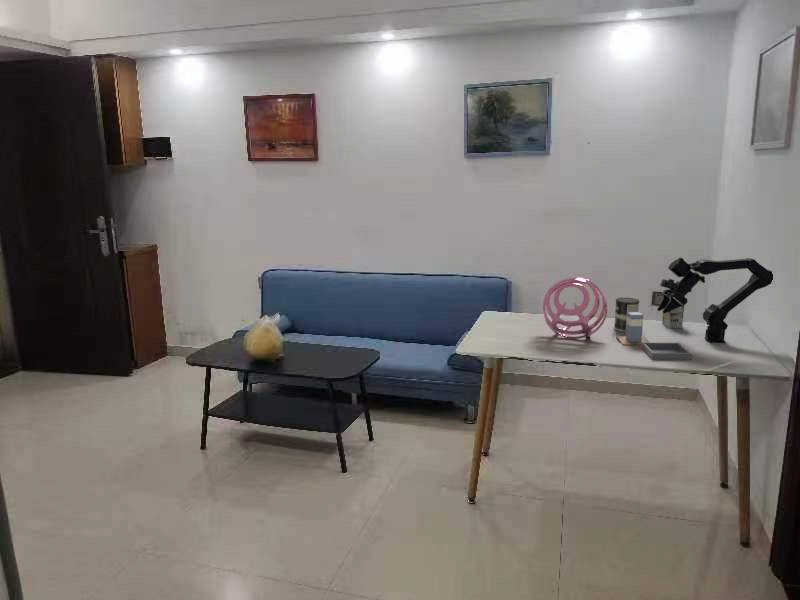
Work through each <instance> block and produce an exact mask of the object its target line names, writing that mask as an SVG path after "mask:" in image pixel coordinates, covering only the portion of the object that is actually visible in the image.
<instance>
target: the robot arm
mask: <svg viewBox="0 0 800 600" xmlns="http://www.w3.org/2000/svg"><path fill="white" fill-rule="evenodd" d="M745 269H747V270H748V271H749V273H751V275H750V277H749V279H748V281H747V282H746V283H745V284H743V285H742V286H741V287H740V288H739V289H737V290H735V292H733V293H732V294H731V295H730V296H728V297H727V298H726V299H725V300H724V301H722V302H721V303H719V304H717V305H716V304H715V303H711V304H710V305H709V306H708V307H707V308H704V312H703V313H702V318H703V320H704V321H705V322H706V325H707V326H706V329H705V336H704V339H705V340H706V341H707V342H708V343H715V344H716V343H719V344H722V343H723V344H725V343H727V342H726V340H725V335H726V330H727V329H728V327H729V325H728V324H727V323H726V322H725V320H726V318H727V316H728V314H729V313H730V312H731V311H732V310H733V309H734V308H735V307H738V305H740V303H742V302H743V301H745V300H746V299H747V298H748V297H749V296H751V295H752V294H753V293H754V292H756V291H757V290H760V289H763V288H765V287H768V286H770V285H772V283H771V282H772V280H773V274H772V270H770V269H767V268H766V267H764V266H763V265H761V264H760V263H759V262H758V261H757V260H756V259H755V258H754V259H753V258H751V257H746V258H738V259H727V260H726V259H725V260H712V259H704V258H703V259H702V258H701V259H697V260H696V261H695V262H693V263H688V262H686V260H685V259H684V258H683V257H681V256H680V257H678V259H675V260H674V261H672V262H671V263H670V264H669V265H668V270H669V271H670V272H671V273H673V274H674V276H676V277H677V278H681V279H680V280H679V281H675V280H674V279H671V278H669V279H668V280H667V279H665V278H664V279H663V278H662V280H661V282H660V284H659V286H660V287H663V288H666V289H664V290H663V291H662V293H661V295H662V300H661V301H660V303H659V304H658V305H659V306H658V307H657V311H658V312H661V311H662V314H663V313H664V314H665V313H667V312H669V311H671V310H674V309H676V308H678V307H681V306H682V305H684V306H686V304H687V303H688V298H687V297H686V295H688V294H689V293H692V291H693V290H692V289H694V287H695V286H696V285H697V284H698V283H703V284H705V283H706V280H705V277H706V276H704V275H712V274H715V273H718V272H721V271H729V270H730V271H732V270H745ZM700 274H701V275H700ZM681 304H682V305H681ZM664 308H665V309H664ZM663 309H664V310H663Z"/></svg>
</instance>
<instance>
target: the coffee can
mask: <svg viewBox="0 0 800 600" xmlns="http://www.w3.org/2000/svg"><path fill="white" fill-rule="evenodd" d="M639 309H640V299H638V298H634V297H618V298H615V311H614V312H615V313H614V327H613V329H615V330H616V331H618V332H625V333H626V327H627V312H639Z"/></svg>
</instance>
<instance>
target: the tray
mask: <svg viewBox="0 0 800 600" xmlns="http://www.w3.org/2000/svg"><path fill="white" fill-rule="evenodd" d="M641 349H642V351H643V352H644V353H645V354H646V355H647V356H648V357H649V358H650V359H651V360H666V361H667V360H675V361H677V360H678V361H679V360H681V361H691V359H692V353H691V352H689V350H688V349H686V348H685V346H683V345H682V344H681V343H680V342H654V341H653V342H650V341H649V342H642V346H641Z"/></svg>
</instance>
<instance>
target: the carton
mask: <svg viewBox="0 0 800 600" xmlns="http://www.w3.org/2000/svg"><path fill="white" fill-rule="evenodd" d="M643 327H644V314H643V313H641V312H640V311H638V312H627V327H626V332H625V336H626V339H627V340H628V341H629V342H642V336H643Z"/></svg>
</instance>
